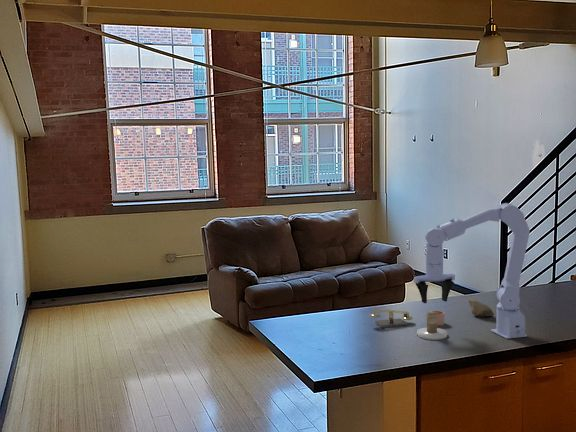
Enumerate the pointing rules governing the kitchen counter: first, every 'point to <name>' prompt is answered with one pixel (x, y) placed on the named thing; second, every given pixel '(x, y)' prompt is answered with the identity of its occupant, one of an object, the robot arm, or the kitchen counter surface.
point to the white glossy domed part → (432, 334)
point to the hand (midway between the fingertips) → (434, 301)
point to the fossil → (480, 309)
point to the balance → (391, 318)
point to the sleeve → (440, 317)
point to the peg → (431, 322)
